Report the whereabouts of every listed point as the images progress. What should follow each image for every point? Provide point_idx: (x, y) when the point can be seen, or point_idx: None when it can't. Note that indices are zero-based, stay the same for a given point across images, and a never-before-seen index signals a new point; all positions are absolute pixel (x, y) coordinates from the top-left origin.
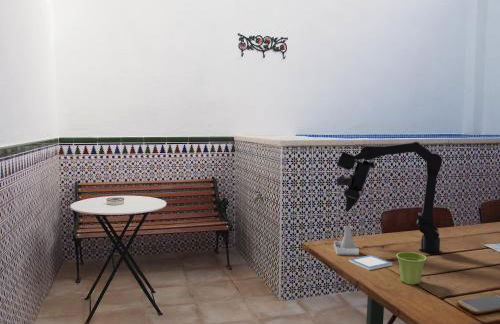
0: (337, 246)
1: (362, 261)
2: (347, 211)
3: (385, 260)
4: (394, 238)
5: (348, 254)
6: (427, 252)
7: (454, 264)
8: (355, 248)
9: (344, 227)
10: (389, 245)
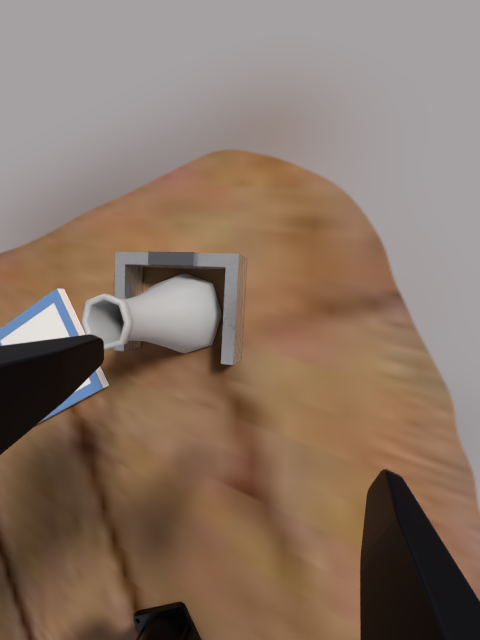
0: (143, 258)
1: (41, 333)
2: (93, 354)
3: (50, 415)
4: None
5: None
6: (146, 613)
7: (54, 614)
8: None
9: (100, 295)
10: (262, 528)
